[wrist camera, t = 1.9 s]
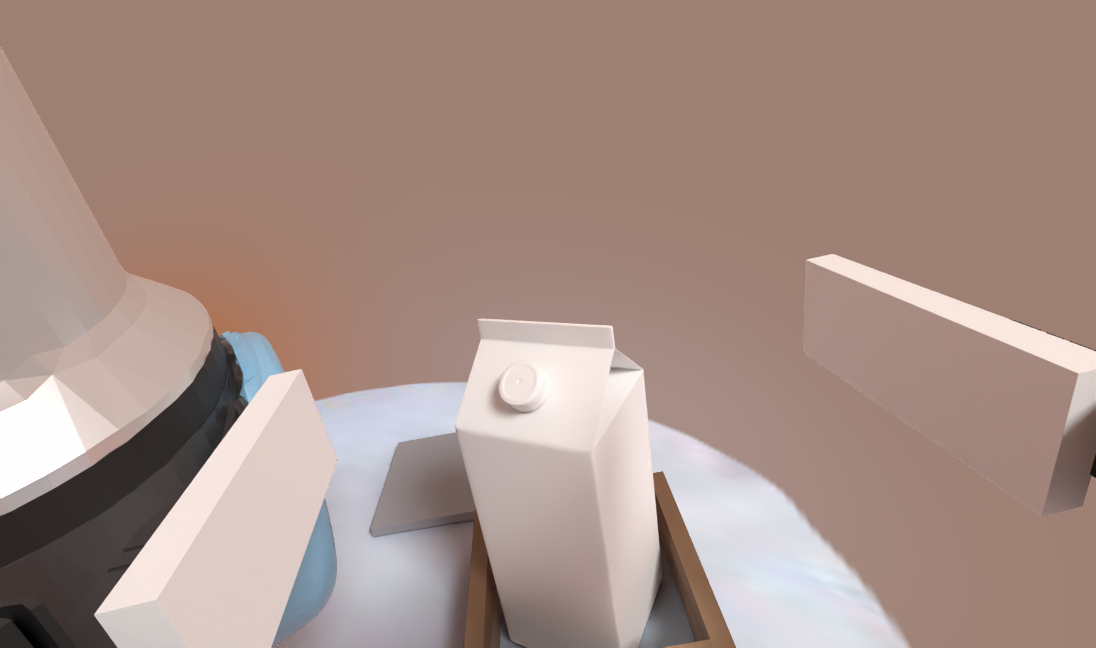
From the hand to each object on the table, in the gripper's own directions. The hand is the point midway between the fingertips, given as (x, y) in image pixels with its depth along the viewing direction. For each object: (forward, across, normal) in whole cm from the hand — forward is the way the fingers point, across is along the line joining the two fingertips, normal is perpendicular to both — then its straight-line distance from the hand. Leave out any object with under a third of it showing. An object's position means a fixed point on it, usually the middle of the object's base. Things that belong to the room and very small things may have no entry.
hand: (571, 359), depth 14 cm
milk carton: (+10, 0, -22) cm, 25 cm away
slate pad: (+26, -9, -22) cm, 35 cm away
